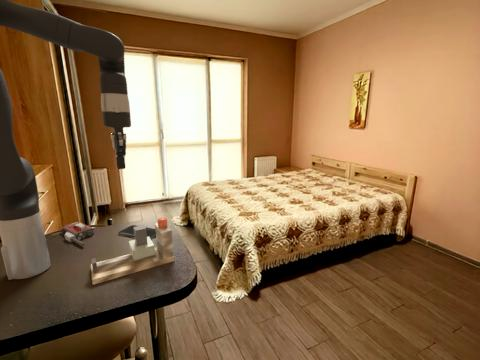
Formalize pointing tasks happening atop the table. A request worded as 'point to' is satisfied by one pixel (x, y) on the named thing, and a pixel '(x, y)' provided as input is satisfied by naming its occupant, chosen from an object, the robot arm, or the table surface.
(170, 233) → the rail base
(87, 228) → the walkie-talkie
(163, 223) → the button
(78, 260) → the table surface
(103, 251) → the table surface
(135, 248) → the block
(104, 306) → the table surface
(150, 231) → the phone
